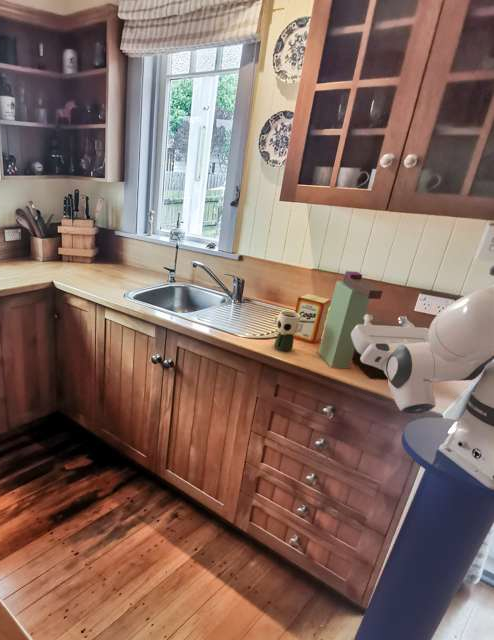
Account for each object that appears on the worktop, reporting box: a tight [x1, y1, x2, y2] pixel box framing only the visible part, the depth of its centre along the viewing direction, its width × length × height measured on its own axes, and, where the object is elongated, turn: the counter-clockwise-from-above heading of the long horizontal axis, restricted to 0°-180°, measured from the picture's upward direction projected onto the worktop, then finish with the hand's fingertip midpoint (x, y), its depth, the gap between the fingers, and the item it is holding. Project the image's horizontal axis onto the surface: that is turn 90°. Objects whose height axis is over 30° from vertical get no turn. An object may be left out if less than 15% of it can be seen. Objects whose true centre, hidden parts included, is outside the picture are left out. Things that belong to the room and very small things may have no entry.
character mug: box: [273, 310, 303, 352], centre depth 163 cm, size 11×7×13 cm, turn 40°
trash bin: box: [351, 348, 388, 380], centre depth 155 cm, size 22×13×9 cm, turn 178°
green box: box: [318, 280, 370, 369], centre depth 153 cm, size 12×6×26 cm, turn 178°
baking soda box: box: [293, 293, 332, 345], centre depth 173 cm, size 10×6×16 cm
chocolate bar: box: [342, 270, 383, 300], centre depth 142 cm, size 18×4×4 cm, turn 178°
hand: (384, 316), depth 128 cm, fingers open, 8 cm apart
